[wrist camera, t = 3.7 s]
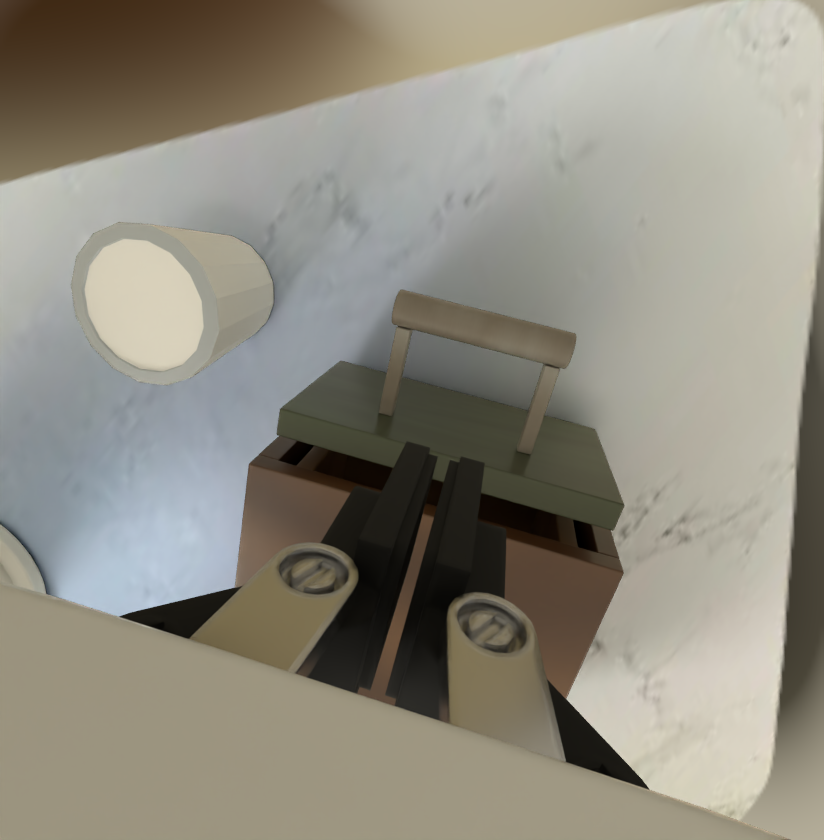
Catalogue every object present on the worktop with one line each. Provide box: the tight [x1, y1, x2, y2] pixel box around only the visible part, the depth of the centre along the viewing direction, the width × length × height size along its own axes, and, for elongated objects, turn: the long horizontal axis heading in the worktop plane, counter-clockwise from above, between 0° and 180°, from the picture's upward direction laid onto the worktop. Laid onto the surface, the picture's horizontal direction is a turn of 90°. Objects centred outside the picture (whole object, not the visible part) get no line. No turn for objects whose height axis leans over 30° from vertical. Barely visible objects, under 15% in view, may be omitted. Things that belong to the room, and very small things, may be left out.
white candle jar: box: [71, 222, 274, 385], centre depth 26 cm, size 7×7×7 cm
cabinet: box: [235, 436, 624, 706], centre depth 28 cm, size 18×15×10 cm
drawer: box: [277, 290, 624, 547], centre depth 26 cm, size 22×14×8 cm, turn 167°
